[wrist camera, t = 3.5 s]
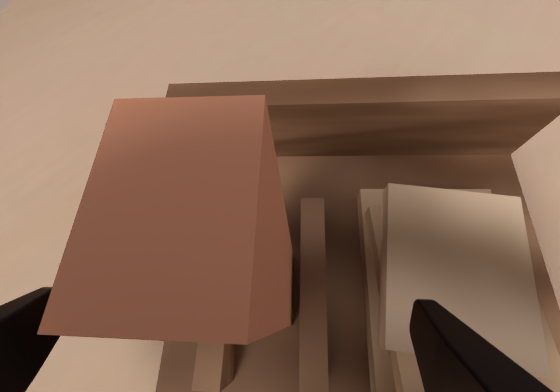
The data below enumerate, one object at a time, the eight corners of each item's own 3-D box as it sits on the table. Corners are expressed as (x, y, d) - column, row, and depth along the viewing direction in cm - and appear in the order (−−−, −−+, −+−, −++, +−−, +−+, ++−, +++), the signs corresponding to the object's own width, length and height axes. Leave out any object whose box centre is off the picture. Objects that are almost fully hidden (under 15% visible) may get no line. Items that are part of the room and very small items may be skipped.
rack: (582, 439, 13) (780, 524, 8) (161, 409, 15) (77, 461, 9) (494, 141, 19) (568, 71, 14) (204, 145, 21) (169, 83, 16)
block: (292, 325, 15) (247, 344, 3) (245, 322, 15) (36, 334, 3) (294, 257, 16) (265, 94, 5) (250, 256, 17) (114, 99, 5)
